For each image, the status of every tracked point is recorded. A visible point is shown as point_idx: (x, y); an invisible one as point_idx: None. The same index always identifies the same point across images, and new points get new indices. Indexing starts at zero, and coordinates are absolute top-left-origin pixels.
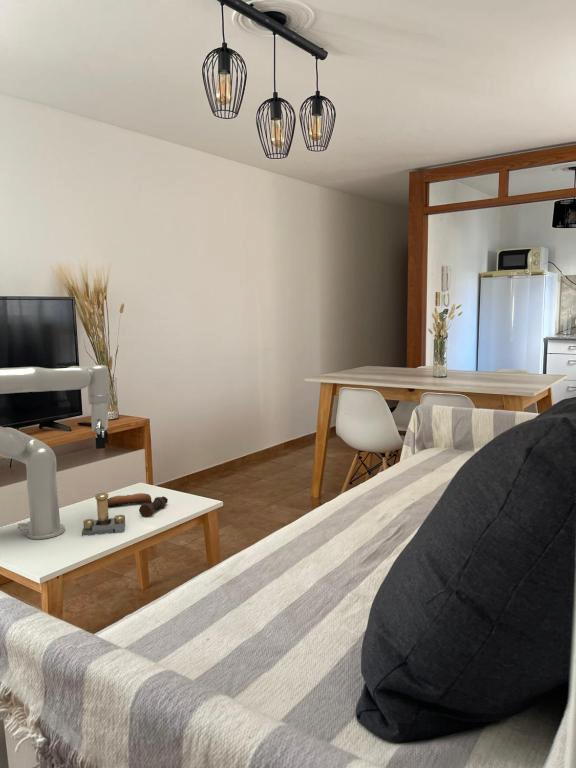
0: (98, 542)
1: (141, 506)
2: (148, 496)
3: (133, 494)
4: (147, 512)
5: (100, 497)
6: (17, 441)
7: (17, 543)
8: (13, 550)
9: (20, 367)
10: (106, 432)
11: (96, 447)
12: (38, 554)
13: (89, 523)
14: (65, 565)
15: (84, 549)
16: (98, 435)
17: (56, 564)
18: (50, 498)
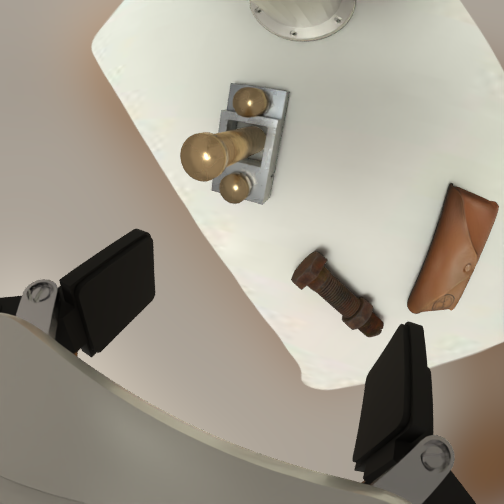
0: (180, 122)
1: (309, 265)
2: (414, 308)
3: (449, 280)
4: (300, 267)
5: (182, 151)
6: None
7: None
8: None
9: None
10: (355, 461)
11: (131, 234)
12: (166, 8)
13: (233, 104)
14: (105, 72)
15: (155, 95)
16: (17, 309)
17: (113, 55)
18: None
